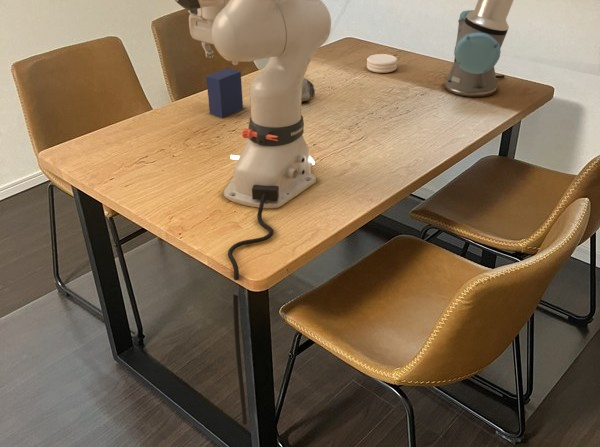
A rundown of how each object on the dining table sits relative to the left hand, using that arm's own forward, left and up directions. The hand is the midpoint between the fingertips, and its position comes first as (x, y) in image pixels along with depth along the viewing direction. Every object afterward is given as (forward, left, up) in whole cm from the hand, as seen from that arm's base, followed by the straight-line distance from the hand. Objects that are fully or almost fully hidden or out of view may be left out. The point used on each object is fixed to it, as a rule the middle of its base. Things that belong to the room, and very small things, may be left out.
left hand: (222, 60), depth 170 cm
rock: (+17, -12, -15) cm, 25 cm away
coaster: (+52, -29, -15) cm, 61 cm away
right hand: (+24, -24, +16) cm, 37 cm away
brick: (0, 0, -15) cm, 15 cm away
